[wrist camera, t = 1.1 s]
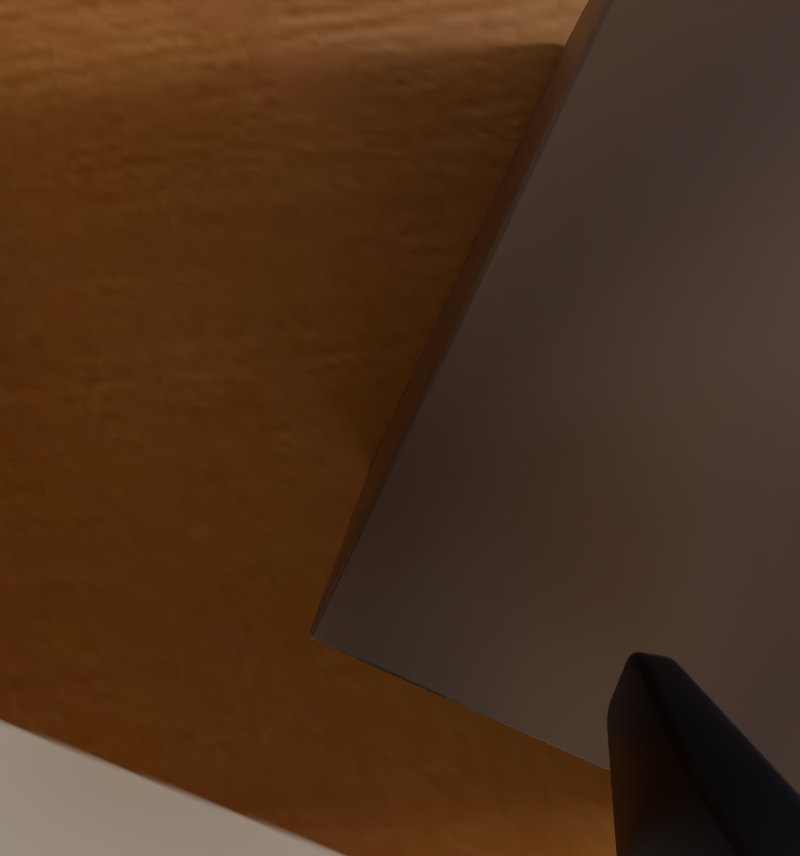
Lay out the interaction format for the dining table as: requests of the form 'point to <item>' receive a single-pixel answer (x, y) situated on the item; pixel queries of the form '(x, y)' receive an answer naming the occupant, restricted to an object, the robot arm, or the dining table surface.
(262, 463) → the dining table surface
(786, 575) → the cabinet
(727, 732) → the robot arm
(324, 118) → the dining table surface
